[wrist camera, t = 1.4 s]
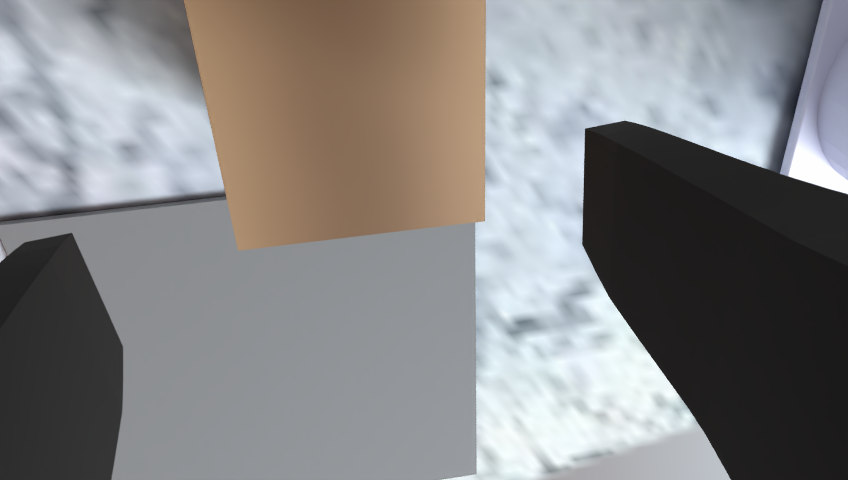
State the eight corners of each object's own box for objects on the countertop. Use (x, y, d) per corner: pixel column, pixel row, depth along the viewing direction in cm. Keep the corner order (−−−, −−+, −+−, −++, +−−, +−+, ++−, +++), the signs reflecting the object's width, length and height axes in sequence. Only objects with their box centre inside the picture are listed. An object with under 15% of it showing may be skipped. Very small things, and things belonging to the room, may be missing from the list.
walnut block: (428, -94, 18) (485, -31, 13) (435, 105, 20) (484, 221, 15) (211, -77, 17) (182, -5, 12) (249, 124, 20) (238, 250, 15)
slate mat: (472, 168, 22) (474, 171, 21) (475, 469, 29) (476, 473, 29) (-3, 222, 20) (-6, 226, 20) (124, 524, 27) (123, 529, 27)
